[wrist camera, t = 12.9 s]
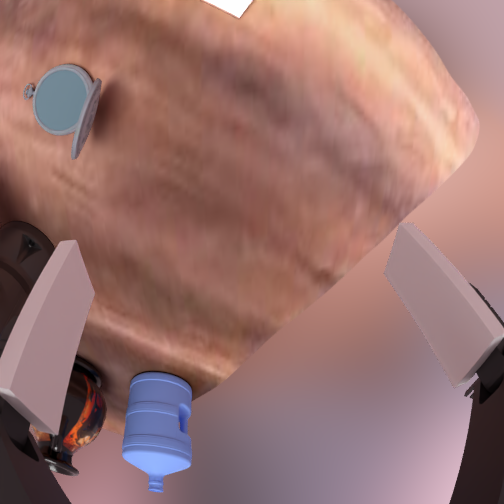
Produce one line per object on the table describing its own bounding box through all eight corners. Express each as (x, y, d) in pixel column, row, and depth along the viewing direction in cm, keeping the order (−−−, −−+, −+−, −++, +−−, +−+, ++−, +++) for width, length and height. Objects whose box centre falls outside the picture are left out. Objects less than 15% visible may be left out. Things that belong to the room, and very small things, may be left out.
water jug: (125, 390, 69) (113, 487, 46) (140, 362, 62) (127, 479, 39) (179, 405, 75) (177, 498, 52) (202, 381, 68) (204, 491, 45)
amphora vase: (101, 398, 72) (88, 485, 49) (34, 368, 63) (9, 454, 40) (123, 368, 63) (107, 478, 40) (41, 329, 54) (3, 437, 31)
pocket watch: (68, 175, 27) (-25, 144, 22) (102, 147, 36) (20, 121, 31) (93, 83, 22) (-11, 62, 17) (125, 77, 31) (36, 56, 26)
